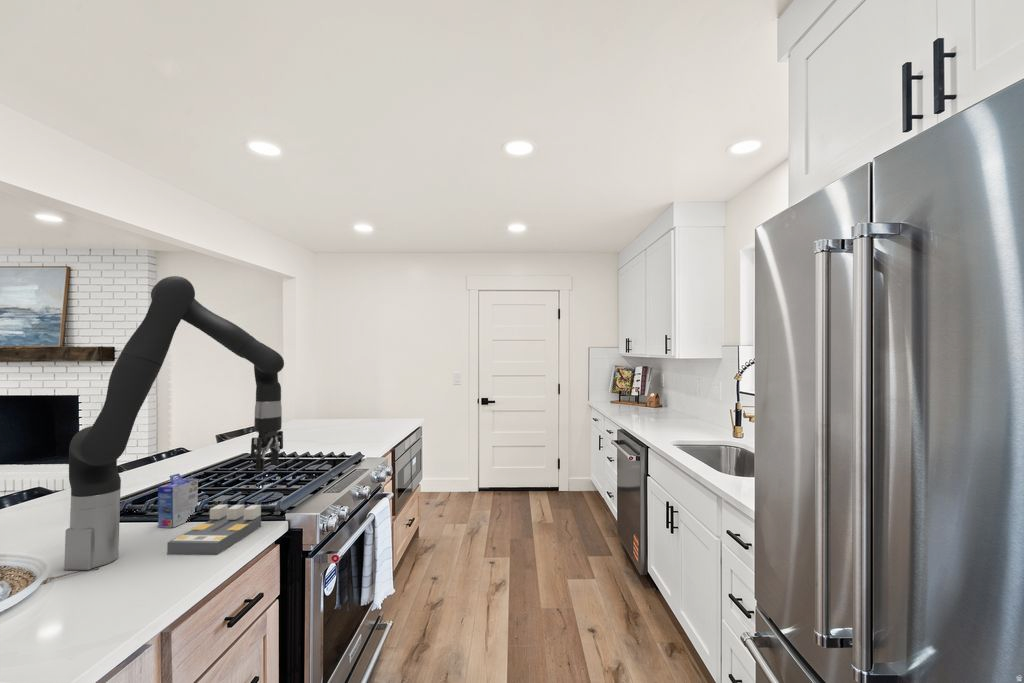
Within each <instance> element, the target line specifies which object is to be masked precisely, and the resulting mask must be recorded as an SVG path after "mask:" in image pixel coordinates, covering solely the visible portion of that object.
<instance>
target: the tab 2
mask: <svg viewBox="0 0 1024 683" xmlns="http://www.w3.org/2000/svg"><path fill="white" fill-rule="evenodd" d="M243 516H244V520H253V519H255V518H257V517H258V516H262V504H251V505H249V506H247V507H245V508H244V515H243Z"/></svg>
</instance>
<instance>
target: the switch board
mask: <svg viewBox="0 0 1024 683" xmlns="http://www.w3.org/2000/svg"><path fill="white" fill-rule="evenodd" d="M261 526H262V515H260V516H258V517H257V518H255V519H253V520H244V515H243V516H242V517H240V518H238V519H236V520H233V519H227V516H225V517H223V518H221V519H209V520H208V521H206V522H204V523H201V524H199V525H196V526H195V527H192V528H191V529H190V530H188V531H186V532H185V533H183V534H181V535H179V536H177V537H174V538H173V539H171V540H170V541H168V542H167V544H166V546H167V550H166V551H167V552H166V554H167V555H195V556H196V555H197V556H200V555H203V556H204V555H206V556H207V555H208V556H211V555H212V556H213V555H215V556H216V555H219V554H221V553H222V552H224V551H225V550H227V549H228V548H230V547H232V546H233V545H235V544H236V543H238V542H239V541H241V540H242V539H244V538H245V537H247V536H248V535H251V534H252V533H253V532H254V531H257V530H259V528H261Z"/></svg>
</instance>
